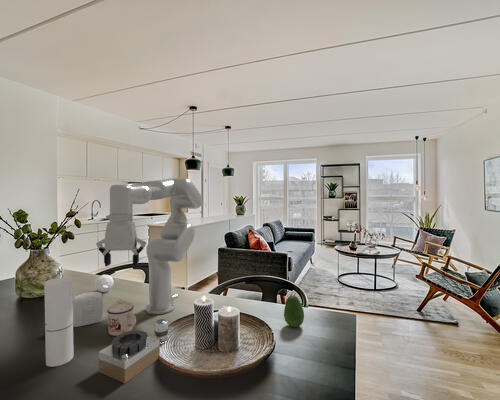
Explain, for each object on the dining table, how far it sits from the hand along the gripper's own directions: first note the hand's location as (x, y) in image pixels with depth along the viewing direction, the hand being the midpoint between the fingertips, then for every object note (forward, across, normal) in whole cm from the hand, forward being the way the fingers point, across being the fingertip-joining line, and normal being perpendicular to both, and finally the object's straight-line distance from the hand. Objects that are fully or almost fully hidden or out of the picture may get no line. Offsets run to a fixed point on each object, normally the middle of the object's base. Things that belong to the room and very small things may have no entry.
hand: (121, 265), depth 99 cm
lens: (+26, +15, -5) cm, 31 cm away
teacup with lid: (+26, -1, +3) cm, 26 cm away
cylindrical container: (+26, -14, -13) cm, 33 cm away
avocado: (+26, +65, +2) cm, 70 cm away
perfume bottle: (+26, -27, +45) cm, 59 cm away
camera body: (+26, +9, -18) cm, 33 cm away
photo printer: (+26, -17, +11) cm, 33 cm away
